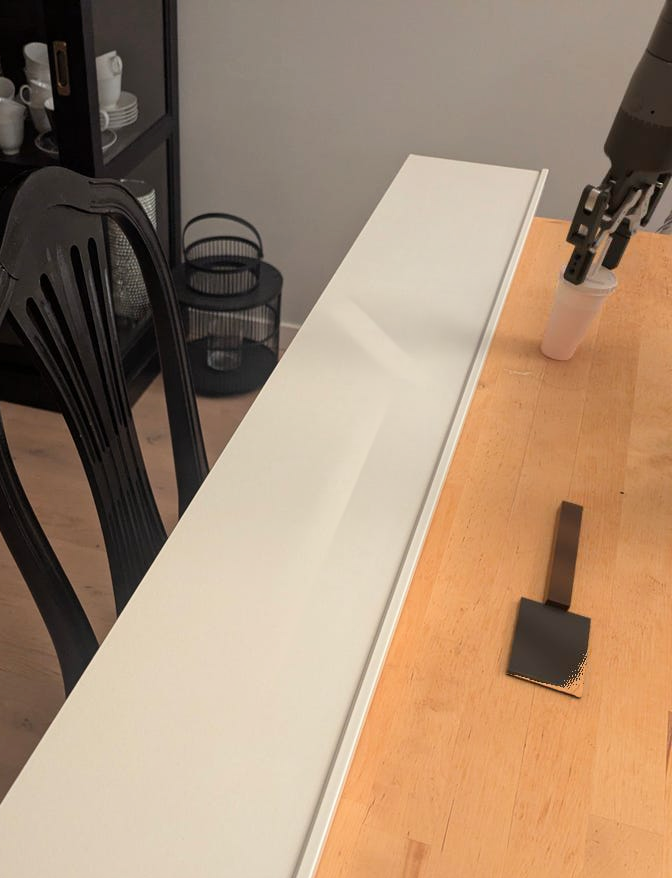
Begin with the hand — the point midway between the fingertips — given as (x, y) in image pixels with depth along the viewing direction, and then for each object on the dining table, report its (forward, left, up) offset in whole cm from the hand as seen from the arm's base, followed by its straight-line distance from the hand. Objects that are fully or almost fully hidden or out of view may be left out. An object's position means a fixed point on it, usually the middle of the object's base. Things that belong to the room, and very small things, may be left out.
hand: (589, 273), depth 101 cm
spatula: (+35, +24, -10) cm, 44 cm away
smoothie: (0, 0, -10) cm, 10 cm away
